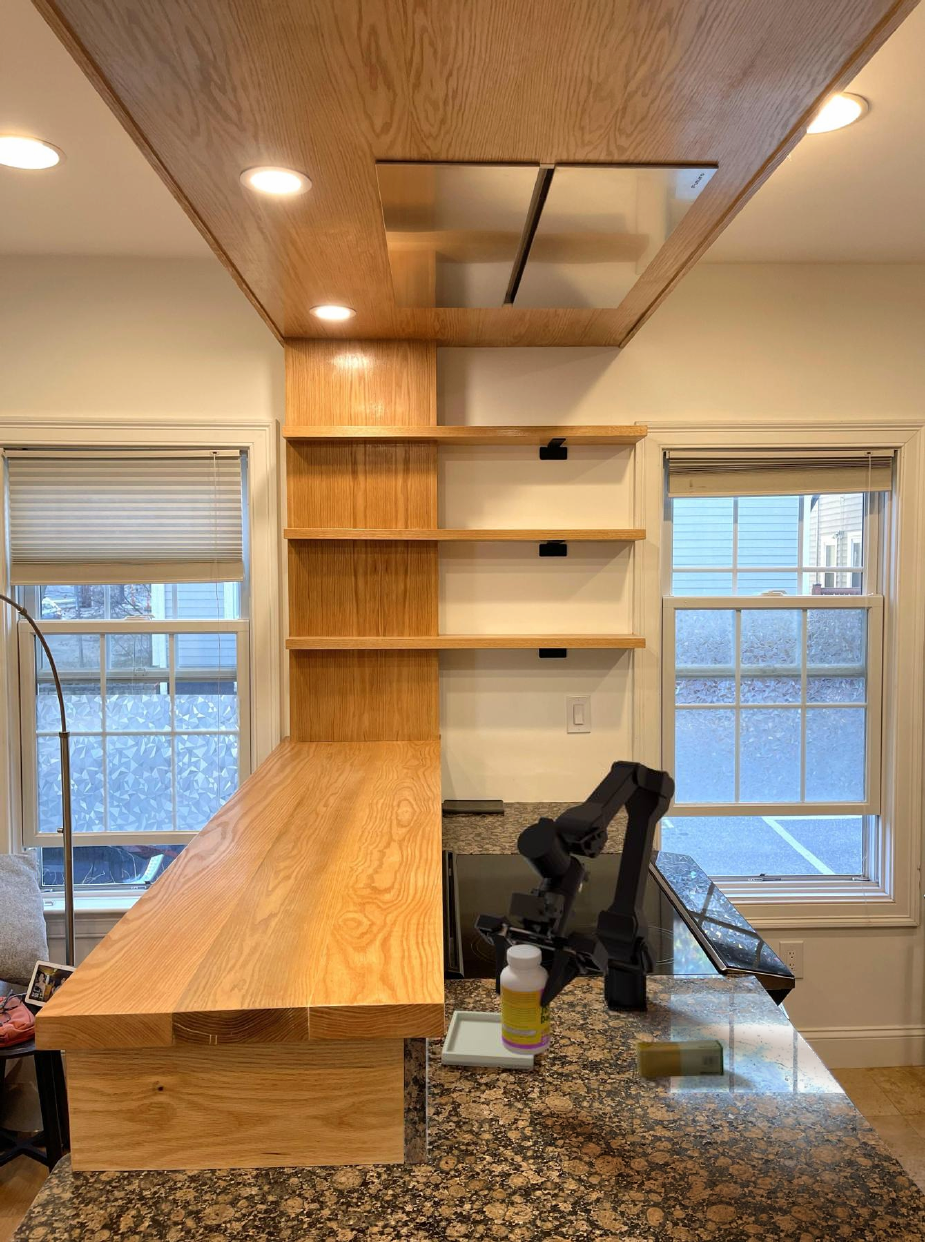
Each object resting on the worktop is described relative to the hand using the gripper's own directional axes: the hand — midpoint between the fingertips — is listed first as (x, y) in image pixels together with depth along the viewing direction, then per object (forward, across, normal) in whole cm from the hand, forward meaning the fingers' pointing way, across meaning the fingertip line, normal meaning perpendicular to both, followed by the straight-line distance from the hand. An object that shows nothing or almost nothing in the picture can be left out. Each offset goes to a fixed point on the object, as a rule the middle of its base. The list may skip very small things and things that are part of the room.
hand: (519, 1000), depth 116 cm
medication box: (-3, +16, +22) cm, 27 cm away
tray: (+3, -11, +16) cm, 20 cm away
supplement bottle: (+4, 0, +6) cm, 7 cm away
